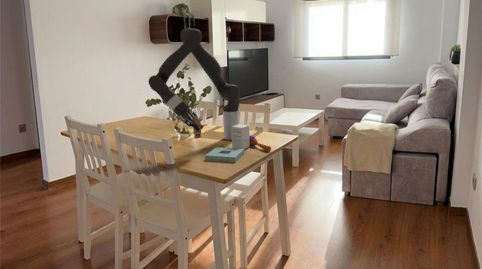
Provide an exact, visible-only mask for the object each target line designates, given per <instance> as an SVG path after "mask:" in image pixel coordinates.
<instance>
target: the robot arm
mask: <svg viewBox="0 0 482 269" xmlns="http://www.w3.org/2000/svg"><path fill="white" fill-rule="evenodd" d="M179 35H180V36H179V37H180V41H181V42H182V44H181V45H180V47H179V48H177V49H176V50H175V51H174V52H173V53H171V54H169V56H168V57H167V58H166V59H165V60H164V61H163V63H162V64H161V65H160V67H159V69H158V72H157V74H154V75H151V76H149V79H148V85H149V88H150V89H151V90H152V91H154V92H156V94H158V96H160V98H161V100H162V101H163V102H165V104H166V105H167V106H168V107H169V109H170V110H171V111H172V112H173V113H174V114H175V115H176V116H177V117H178V118H180V117H181V119H180V121H181V122H183V123H184V124H185V125H186V126H188V128H189V127H191V128H194V129H195V130H196V131H197V132H198V131H199V130H200V128H199V127H198V126H197V125H196V124H195V122H194V121H193V118H199V116H198V115H197V114H196V112H194V111H190V110H189V108H190V106H189V105H188V104H187V103H186V102H185V101H184V100H183V99H182V98H181V97H180V96H179V95H177V93H176V92H174V91H173V90H172V89H171V88H170V87H169V86H168V85H167V83H168V81H169V79H170V78H171V76H172V75H173V74H174V72H175V71H176V70H177V69H178V67H179V65H180V64H181V63H182V62H183V61H184V60H185V59H186V58H187V57H188V56H189V55H190V53H191V54H192V55H193V56H194V58H195V60H196V61H197V62H198V64H199V65H200V67H201V69H202V70H203V71H204V72H205V74H206V75H207V76H208V77H209V79H210V81H211V83H212V84H213V85H214V87H215V88H216V90H217V92H218V93H219V96H220V97H221V98H223V99H224V100H227V104H226V105H224V106H223V107H222V112H223V113H222V118H223V138H224V139H223V140H227V141H232V126H235V125H238V124H240V121H239V120H240V119H239V107H240V98H241V96H240V95H241V94H240V88H239V86H238V85H236V84H229V83H227V81H226V80H225V79H224V78H223V75H222V68H221V65H220V63H219V61H218V60H217V59H216V57H215V56H214V55H213V54H212V53H211V52H209V51H208V49H206V48H205V47H204V46H203V44H202V43H201V42H202V40H203V34H202V32H201V30H199V29H197V28H191V27H186V28H183V29H182V30H181V31H180V34H179ZM203 129H204V125H203V124H202V123H201V130H203Z"/></svg>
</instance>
